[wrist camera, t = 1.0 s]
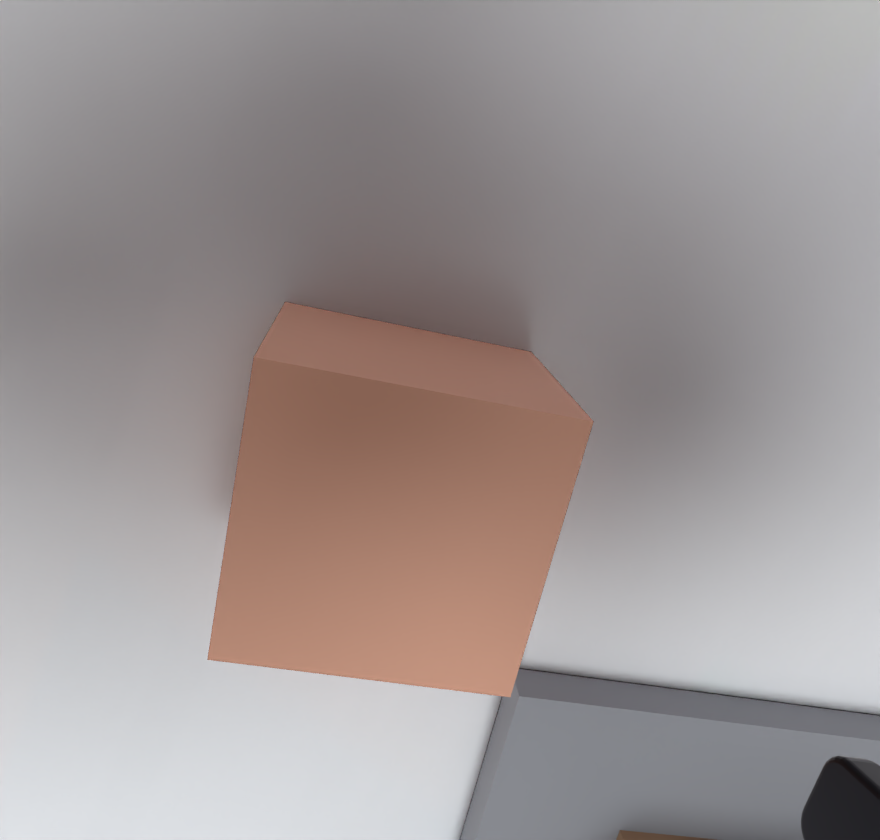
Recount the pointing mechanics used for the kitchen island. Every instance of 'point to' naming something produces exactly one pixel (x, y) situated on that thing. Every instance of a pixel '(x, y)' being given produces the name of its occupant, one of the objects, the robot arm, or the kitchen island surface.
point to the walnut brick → (652, 836)
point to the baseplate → (653, 762)
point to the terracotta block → (393, 504)
